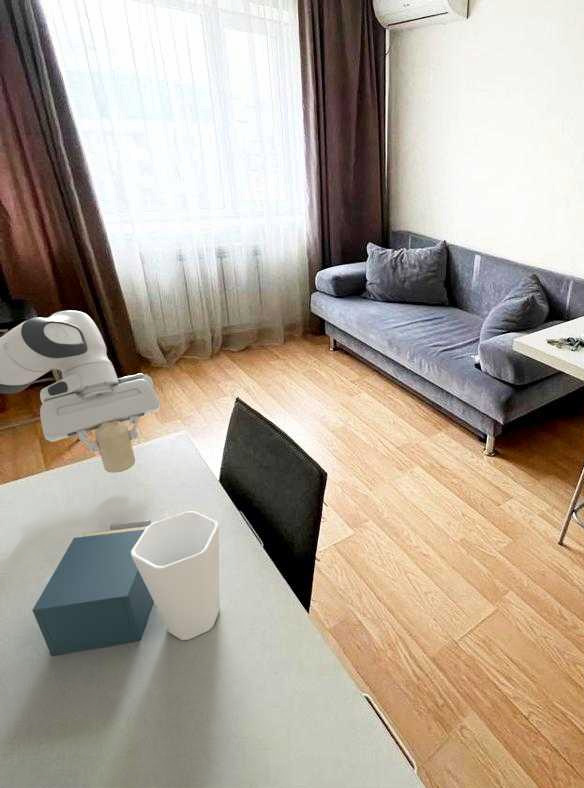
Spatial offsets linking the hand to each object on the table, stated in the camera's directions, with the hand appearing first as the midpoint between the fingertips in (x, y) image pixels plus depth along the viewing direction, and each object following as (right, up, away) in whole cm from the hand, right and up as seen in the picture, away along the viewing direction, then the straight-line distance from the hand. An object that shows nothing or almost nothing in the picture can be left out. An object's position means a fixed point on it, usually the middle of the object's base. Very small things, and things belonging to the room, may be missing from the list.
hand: (115, 444), depth 100 cm
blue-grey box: (+14, -23, -21) cm, 34 cm away
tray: (+13, -20, -18) cm, 30 cm away
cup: (+28, -24, -22) cm, 43 cm away
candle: (-1, -5, +3) cm, 6 cm away
